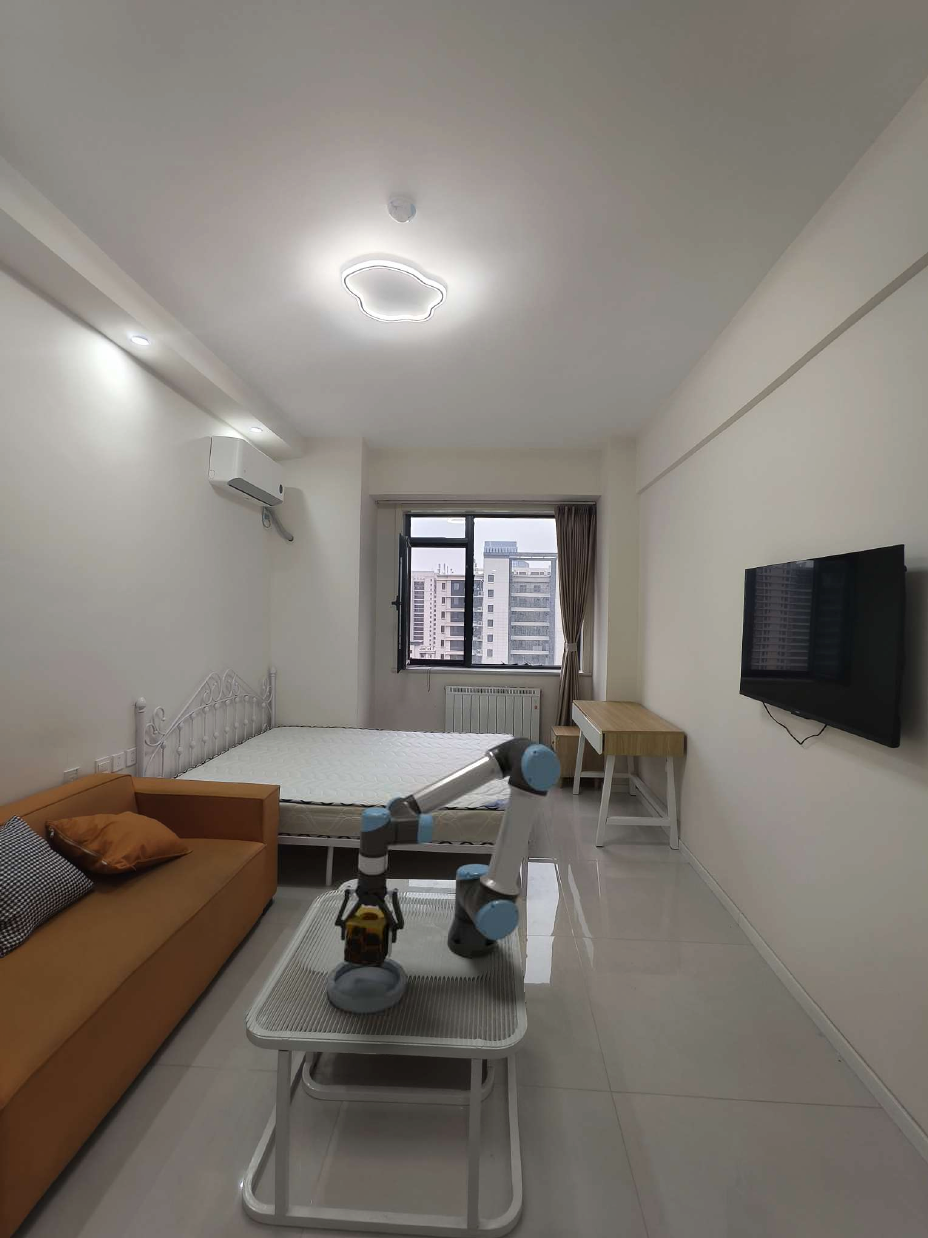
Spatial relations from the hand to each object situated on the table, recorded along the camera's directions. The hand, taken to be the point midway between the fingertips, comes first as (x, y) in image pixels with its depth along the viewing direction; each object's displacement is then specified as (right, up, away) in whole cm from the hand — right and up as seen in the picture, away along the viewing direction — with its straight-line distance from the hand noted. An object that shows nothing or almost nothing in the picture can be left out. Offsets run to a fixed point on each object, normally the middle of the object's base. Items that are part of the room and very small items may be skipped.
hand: (368, 953), depth 154 cm
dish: (0, -9, 0) cm, 9 cm away
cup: (-4, -10, +37) cm, 38 cm away
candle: (0, -1, 0) cm, 1 cm away
